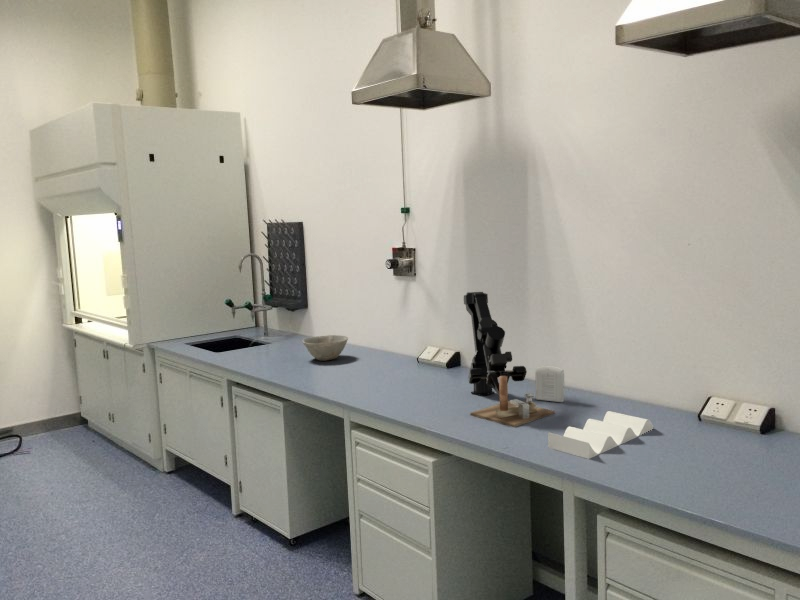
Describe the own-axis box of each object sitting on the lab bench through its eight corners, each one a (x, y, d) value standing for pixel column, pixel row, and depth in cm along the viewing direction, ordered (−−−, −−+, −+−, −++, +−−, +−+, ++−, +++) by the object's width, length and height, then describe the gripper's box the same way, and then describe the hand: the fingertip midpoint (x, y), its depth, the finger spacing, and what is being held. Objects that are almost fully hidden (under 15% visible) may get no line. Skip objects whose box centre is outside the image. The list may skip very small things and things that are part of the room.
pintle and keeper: (529, 410, 222) (529, 392, 222) (542, 415, 216) (542, 397, 215) (510, 413, 219) (510, 395, 219) (523, 419, 213) (522, 400, 212)
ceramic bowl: (331, 352, 340) (330, 333, 339) (358, 358, 323) (357, 338, 321) (294, 359, 326) (292, 339, 325) (319, 366, 309) (318, 345, 307)
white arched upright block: (566, 400, 236) (565, 365, 234) (562, 403, 232) (562, 368, 230) (537, 397, 241) (537, 363, 239) (533, 400, 237) (533, 366, 236)
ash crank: (531, 408, 223) (530, 370, 222) (539, 411, 219) (538, 372, 218) (494, 415, 217) (493, 376, 215) (501, 418, 213) (500, 379, 211)
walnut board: (470, 415, 222) (470, 412, 222) (510, 402, 235) (510, 400, 235) (514, 427, 208) (514, 424, 208) (554, 413, 220) (554, 410, 220)
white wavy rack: (655, 430, 201) (655, 414, 200) (588, 461, 178) (588, 442, 178) (616, 421, 211) (616, 405, 210) (548, 449, 188) (548, 432, 188)
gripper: (469, 344, 219) (476, 385, 210) (524, 341, 221) (534, 382, 211) (465, 363, 228) (472, 403, 219) (519, 360, 230) (528, 400, 220)
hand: (501, 396), depth 217 cm, fingers closed
